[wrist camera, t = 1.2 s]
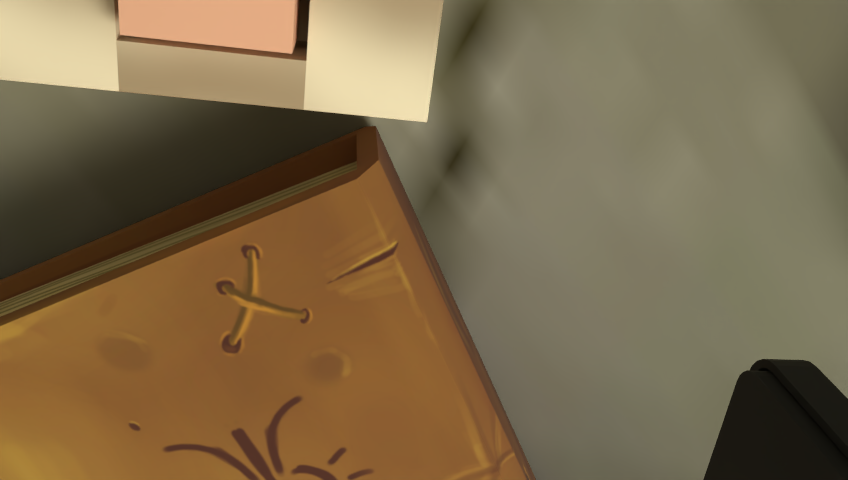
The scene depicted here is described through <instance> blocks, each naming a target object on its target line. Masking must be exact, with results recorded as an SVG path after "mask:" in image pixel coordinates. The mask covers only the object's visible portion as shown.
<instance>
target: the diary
mask: <svg viewBox="0 0 848 480" xmlns="http://www.w3.org/2000/svg"><path fill="white" fill-rule="evenodd" d="M0 480H536V479H535V476H534V474H533V472H532V470H531V468H530V465H529V463H528V461H527V459H526V457H525V454H524V452H523V450H522V448H521V446H520V443H519V441H518V439H517V437H516V435H515V432H514V430H513V428H512V426H511V424H510V421H509V419H508V417H507V415H506V412H505V410H504V408H503V406H502V404H501V401H500V399H499V397H498V395H497V393H496V390H495V388H494V386H493V384H492V382H491V379H490V377H489V375H488V373H487V371H486V368H485V366H484V364H483V362H482V360H481V357H480V355H479V353H478V351H477V349H476V346H475V344H474V342H473V340H472V338H471V335H470V333H469V331H468V329H467V326H466V324H465V322H464V320H463V318H462V315H461V313H460V311H459V309H458V307H457V304H456V302H455V300H454V298H453V296H452V293H451V291H450V289H449V287H448V285H447V282H446V280H445V278H444V276H443V274H442V271H441V269H440V267H439V265H438V263H437V260H436V258H435V256H434V254H433V252H432V249H431V247H430V245H429V243H428V241H427V238H426V236H425V234H424V232H423V229H422V227H421V225H420V223H419V221H418V218H417V216H416V214H415V212H414V210H413V207H412V205H411V203H410V201H409V199H408V196H407V194H406V192H405V190H404V188H403V185H402V183H401V181H400V179H399V177H398V174H397V172H396V170H395V168H394V166H393V163H392V161H391V159H390V157H389V155H388V152H387V150H386V148H385V146H384V143H383V141H382V139H381V137H380V135H379V132H378V130H377V128H376V126H369V127H363V128H361V129H358V130H356V131H354V132H351V133H349V134H347V135H344V136H342V137H339V138H337V139H335V140H332V141H330V142H328V143H325V144H323V145H320V146H318V147H316V148H313V149H311V150H308V151H306V152H304V153H301V154H299V155H297V156H294V157H292V158H289V159H287V160H285V161H282V162H280V163H278V164H275V165H273V166H270V167H268V168H266V169H263V170H261V171H259V172H256V173H254V174H251V175H249V176H247V177H244V178H242V179H239V180H237V181H235V182H232V183H230V184H228V185H225V186H223V187H220V188H218V189H216V190H213V191H211V192H209V193H206V194H204V195H201V196H199V197H197V198H194V199H192V200H190V201H187V202H185V203H182V204H180V205H178V206H175V207H173V208H170V209H168V210H166V211H163V212H161V213H159V214H156V215H154V216H151V217H149V218H147V219H144V220H142V221H140V222H137V223H135V224H132V225H130V226H128V227H125V228H123V229H120V230H118V231H116V232H113V233H111V234H109V235H106V236H104V237H101V238H99V239H97V240H94V241H92V242H90V243H87V244H85V245H82V246H80V247H78V248H75V249H73V250H71V251H68V252H66V253H63V254H61V255H59V256H56V257H54V258H51V259H49V260H47V261H44V262H42V263H40V264H37V265H35V266H32V267H30V268H28V269H25V270H23V271H21V272H18V273H16V274H13V275H11V276H9V277H6V278H4V279H2V280H0Z"/></svg>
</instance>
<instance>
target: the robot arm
mask: <svg viewBox="0 0 848 480" xmlns="http://www.w3.org/2000/svg"><path fill="white" fill-rule="evenodd" d="M704 480H848V399H847V398H846V397H845V396H844V395H843V394H842V393H841V392H840V390H839V389H838V388H837V387H836V386H835V385H834V384H833V383H832V382H831V381H830V380H829V379H828V378H827V377H826V376H825V375H824V374H823V373H822V372H821V371H820V370H819V369H818V368H817V367H816V366H815V365H813V364H812V363H811V362H809V361H804V360H778V359H762V360H759V361H756V362H755V363H754V364H753V365H752V367H751V369H750V371H745V372H743V373H742V374H741V375H740V376H739V378H738V380H737V383H736V386H735V389H734V392H733V394H732V397H731V400H730V403H729V406H728V409H727V412H726V415H725V418H724V421H723V424H722V427H721V430H720V433H719V436H718V439H717V442H716V445H715V447H714V450H713V453H712V456H711V459H710V462H709V465H708V468H707V471H706V474H705V477H704Z"/></svg>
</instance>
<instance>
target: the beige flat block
mask: <svg viewBox="0 0 848 480" xmlns="http://www.w3.org/2000/svg"><path fill="white" fill-rule="evenodd" d="M442 7H443V0H300V2H299V21H298V38H297V41H296V44H295V47H294V50H293V53H292V54H289V53H280V52H271V51H262V50H253V49H244V48H235V47H226V46H217V45H207V44H198V43H189V42H180V41H171V40H162V39H153V38H144V37H135V36H126V35H120V28H119V8H118V0H0V79H1V80H11V81H21V82H31V83H41V84H51V85H61V86H71V87H81V88H91V89H101V90H111V91H121V92H131V93H141V94H151V95H161V96H171V97H181V98H191V99H201V100H211V101H221V102H231V103H241V104H251V105H261V106H271V107H281V108H291V109H301V110H311V111H321V112H331V113H341V114H351V115H361V116H371V117H381V118H391V119H401V120H411V121H421V122H427V118H428V111H429V103H430V96H431V89H432V81H433V74H434V67H435V59H436V52H437V44H438V37H439V30H440V22H441V15H442Z"/></svg>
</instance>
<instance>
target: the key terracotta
mask: <svg viewBox="0 0 848 480" xmlns="http://www.w3.org/2000/svg"><path fill="white" fill-rule="evenodd" d="M299 2H300V0H118V8H119V28H120V35H126V36H135V37H144V38H153V39H162V40H171V41H180V42H189V43H198V44H207V45H217V46H226V47H235V48H244V49H253V50H262V51H271V52H280V53H289V54H292V53H293V50H294V47H295V44H296V41H297V38H298V21H299Z"/></svg>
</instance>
